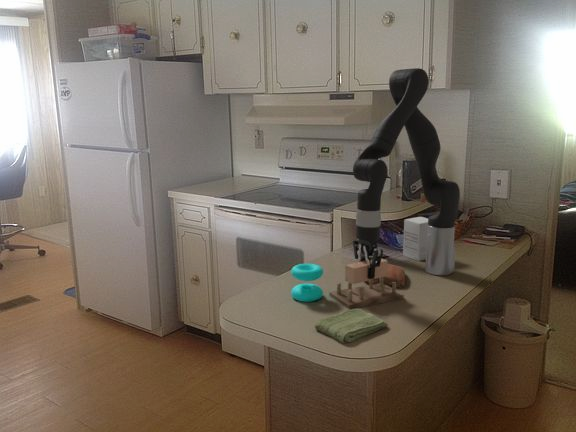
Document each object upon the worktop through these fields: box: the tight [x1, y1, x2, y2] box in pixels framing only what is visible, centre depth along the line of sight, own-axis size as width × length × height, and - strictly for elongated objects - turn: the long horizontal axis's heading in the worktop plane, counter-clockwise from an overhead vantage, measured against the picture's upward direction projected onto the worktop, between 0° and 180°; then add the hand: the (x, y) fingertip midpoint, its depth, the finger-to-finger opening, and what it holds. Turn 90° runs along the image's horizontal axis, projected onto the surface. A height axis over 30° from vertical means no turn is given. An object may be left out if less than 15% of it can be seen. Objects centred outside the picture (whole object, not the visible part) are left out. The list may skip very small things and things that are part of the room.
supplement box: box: [402, 216, 428, 262], centre depth 212 cm, size 9×9×15 cm
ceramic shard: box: [364, 264, 406, 289], centre depth 188 cm, size 15×6×15 cm
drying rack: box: [329, 277, 405, 310], centre depth 172 cm, size 20×12×5 cm, turn 114°
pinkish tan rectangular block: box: [344, 258, 389, 285], centre depth 170 cm, size 14×4×5 cm, turn 124°
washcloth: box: [314, 308, 389, 344], centre depth 149 cm, size 13×18×3 cm
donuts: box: [290, 263, 324, 303], centre depth 171 cm, size 10×10×10 cm
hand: (366, 275), depth 171 cm, fingers closed on pinkish tan rectangular block, 4 cm apart
